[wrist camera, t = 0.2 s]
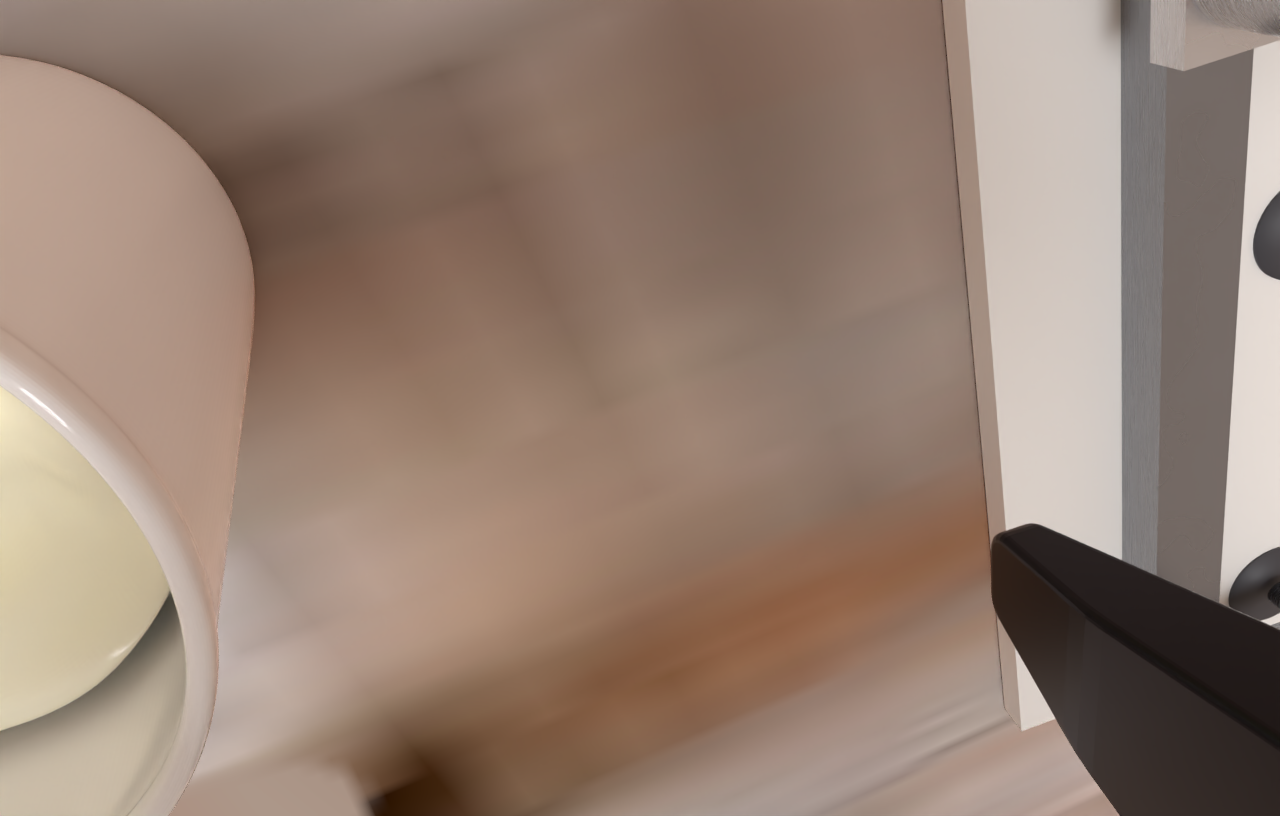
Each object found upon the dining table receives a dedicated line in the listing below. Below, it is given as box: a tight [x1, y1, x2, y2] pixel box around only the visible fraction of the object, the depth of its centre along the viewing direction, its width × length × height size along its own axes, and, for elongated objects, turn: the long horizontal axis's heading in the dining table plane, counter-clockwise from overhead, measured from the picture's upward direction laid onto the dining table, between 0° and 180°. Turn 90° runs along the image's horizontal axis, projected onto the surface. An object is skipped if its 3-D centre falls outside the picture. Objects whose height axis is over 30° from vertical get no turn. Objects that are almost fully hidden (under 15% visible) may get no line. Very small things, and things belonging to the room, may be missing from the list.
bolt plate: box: [942, 0, 1280, 731], centre depth 26 cm, size 26×12×1 cm, turn 14°
